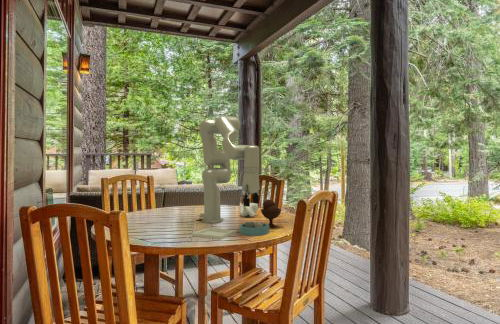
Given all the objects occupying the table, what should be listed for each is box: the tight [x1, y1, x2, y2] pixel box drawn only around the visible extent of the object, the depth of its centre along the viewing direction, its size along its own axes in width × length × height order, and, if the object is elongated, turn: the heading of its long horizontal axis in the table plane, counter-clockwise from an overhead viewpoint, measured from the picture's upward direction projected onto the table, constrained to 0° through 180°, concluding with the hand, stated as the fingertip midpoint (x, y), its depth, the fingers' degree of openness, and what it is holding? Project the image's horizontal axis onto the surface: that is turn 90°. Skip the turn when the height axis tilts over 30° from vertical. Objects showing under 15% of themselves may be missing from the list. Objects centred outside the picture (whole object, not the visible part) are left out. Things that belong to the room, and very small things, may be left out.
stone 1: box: [244, 220, 255, 228], centre depth 179 cm, size 4×4×4 cm
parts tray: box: [192, 227, 237, 240], centre depth 174 cm, size 16×14×2 cm
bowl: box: [238, 221, 270, 237], centre depth 178 cm, size 14×14×4 cm
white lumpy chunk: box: [239, 202, 259, 218], centre depth 228 cm, size 11×12×9 cm
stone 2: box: [254, 221, 264, 228], centre depth 177 cm, size 4×4×4 cm
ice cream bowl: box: [260, 199, 282, 229], centre depth 193 cm, size 11×11×15 cm
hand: (251, 204), depth 178 cm, fingers open, 9 cm apart
